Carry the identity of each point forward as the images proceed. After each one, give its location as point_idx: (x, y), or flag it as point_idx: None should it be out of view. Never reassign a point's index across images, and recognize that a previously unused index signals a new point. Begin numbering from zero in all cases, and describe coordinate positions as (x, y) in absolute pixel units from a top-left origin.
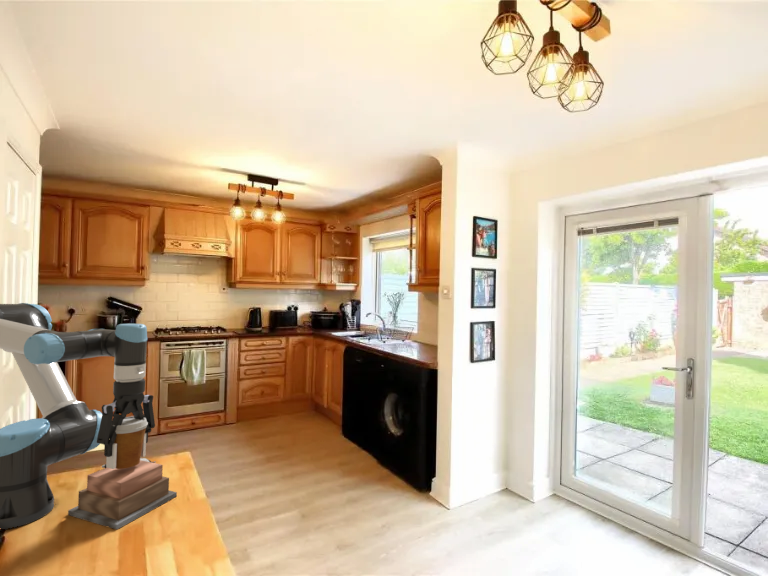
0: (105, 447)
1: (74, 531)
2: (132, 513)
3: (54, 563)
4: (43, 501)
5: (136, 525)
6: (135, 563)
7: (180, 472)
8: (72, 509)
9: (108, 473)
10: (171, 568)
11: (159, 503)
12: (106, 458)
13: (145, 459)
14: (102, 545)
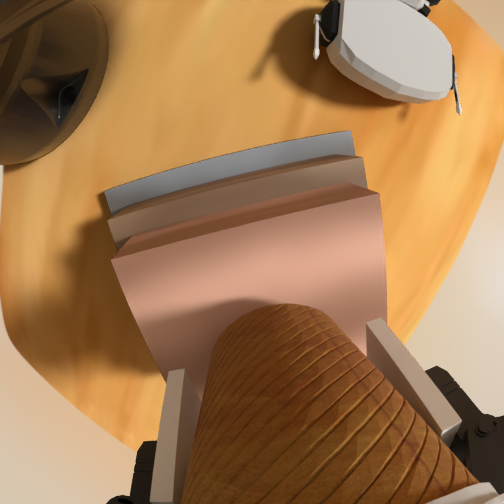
0: (135, 497)
1: (103, 307)
2: None
3: (67, 388)
4: (37, 136)
5: None
6: None
7: (468, 184)
8: (114, 197)
9: (194, 322)
10: None
11: None
12: (162, 408)
13: (448, 60)
14: (142, 403)
